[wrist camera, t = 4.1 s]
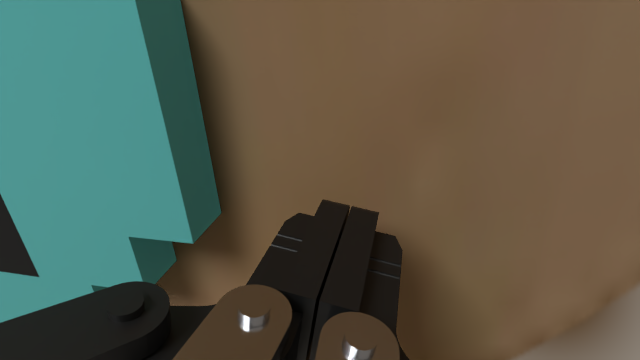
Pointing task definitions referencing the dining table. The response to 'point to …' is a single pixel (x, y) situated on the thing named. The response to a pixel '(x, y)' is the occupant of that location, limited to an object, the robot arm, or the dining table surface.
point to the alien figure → (96, 148)
